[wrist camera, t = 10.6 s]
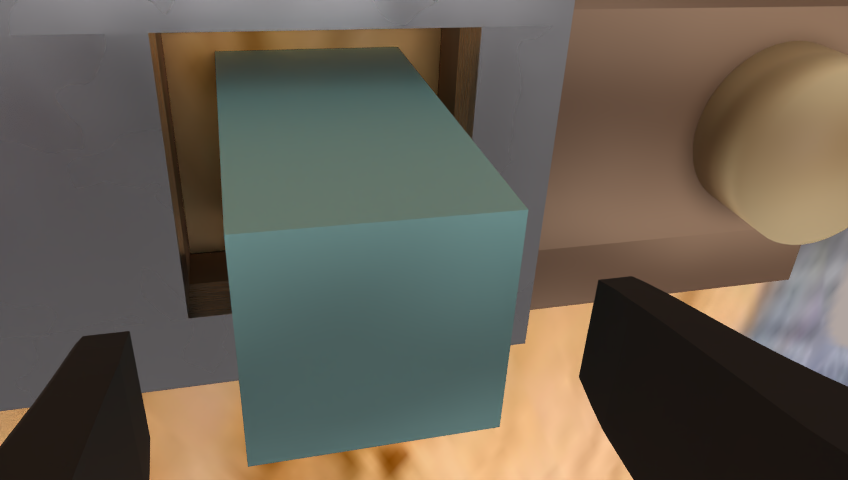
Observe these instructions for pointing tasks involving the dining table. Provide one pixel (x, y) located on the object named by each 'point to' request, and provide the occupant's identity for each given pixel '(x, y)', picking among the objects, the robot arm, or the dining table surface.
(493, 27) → the metal link
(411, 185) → the block
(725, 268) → the walnut link
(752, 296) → the dining table surface
